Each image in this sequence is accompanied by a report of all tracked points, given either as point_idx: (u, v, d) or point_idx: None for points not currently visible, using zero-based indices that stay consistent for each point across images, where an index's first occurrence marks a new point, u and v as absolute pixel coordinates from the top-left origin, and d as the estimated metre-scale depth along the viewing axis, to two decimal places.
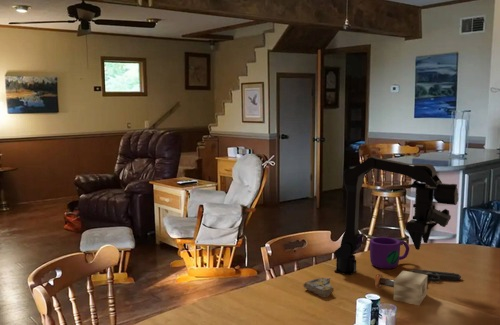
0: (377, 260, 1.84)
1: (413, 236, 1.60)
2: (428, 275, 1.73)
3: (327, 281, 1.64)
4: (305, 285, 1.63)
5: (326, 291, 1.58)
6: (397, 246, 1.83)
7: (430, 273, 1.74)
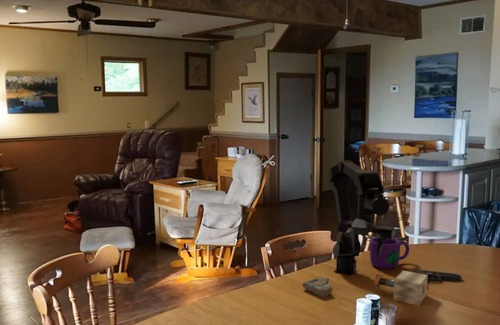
0: (377, 260, 1.84)
1: None
2: (429, 275, 1.73)
3: (326, 281, 1.64)
4: (304, 285, 1.63)
5: (325, 291, 1.58)
6: (397, 246, 1.83)
7: (431, 273, 1.73)
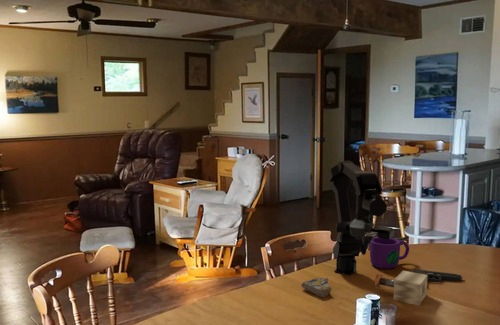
0: (377, 260, 1.84)
1: None
2: (429, 275, 1.73)
3: (325, 281, 1.64)
4: (303, 285, 1.63)
5: (324, 291, 1.58)
6: (397, 246, 1.83)
7: (431, 273, 1.73)
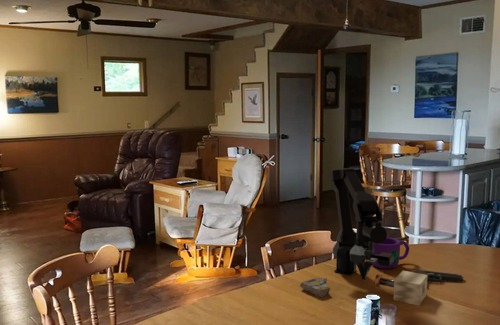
0: None
1: None
2: (430, 276, 1.72)
3: (324, 281, 1.64)
4: (302, 285, 1.63)
5: (322, 291, 1.58)
6: (397, 246, 1.83)
7: (432, 274, 1.73)
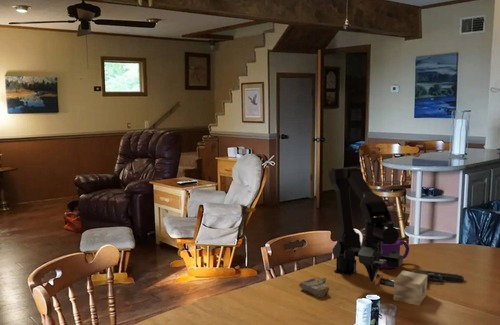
0: None
1: None
2: (430, 276, 1.72)
3: (323, 281, 1.64)
4: (301, 285, 1.63)
5: (321, 291, 1.58)
6: (397, 246, 1.83)
7: (432, 274, 1.73)
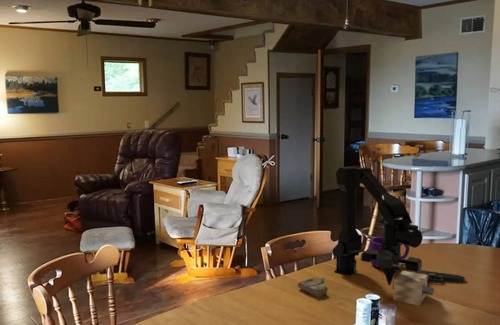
0: None
1: None
2: (431, 276, 1.72)
3: (321, 281, 1.64)
4: (299, 285, 1.63)
5: (320, 291, 1.58)
6: None
7: (433, 274, 1.72)
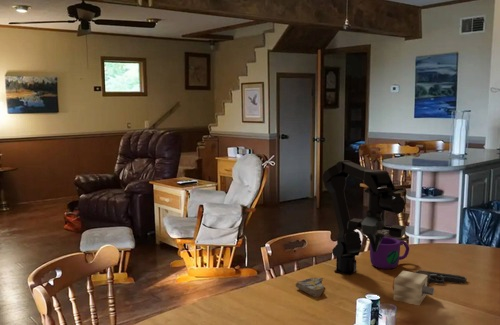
0: (377, 260, 1.84)
1: None
2: (432, 276, 1.71)
3: (319, 281, 1.65)
4: (297, 285, 1.63)
5: (317, 291, 1.58)
6: (397, 246, 1.83)
7: (435, 275, 1.72)
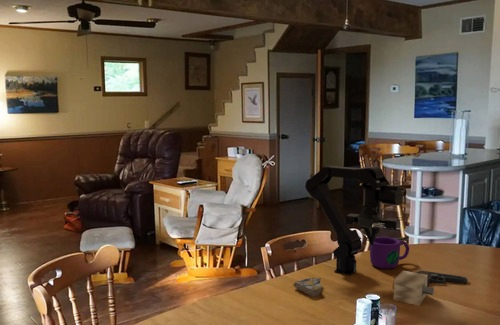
0: (377, 260, 1.84)
1: None
2: (433, 277, 1.71)
3: (317, 281, 1.65)
4: (295, 285, 1.64)
5: (315, 291, 1.58)
6: (397, 246, 1.83)
7: (435, 275, 1.72)
